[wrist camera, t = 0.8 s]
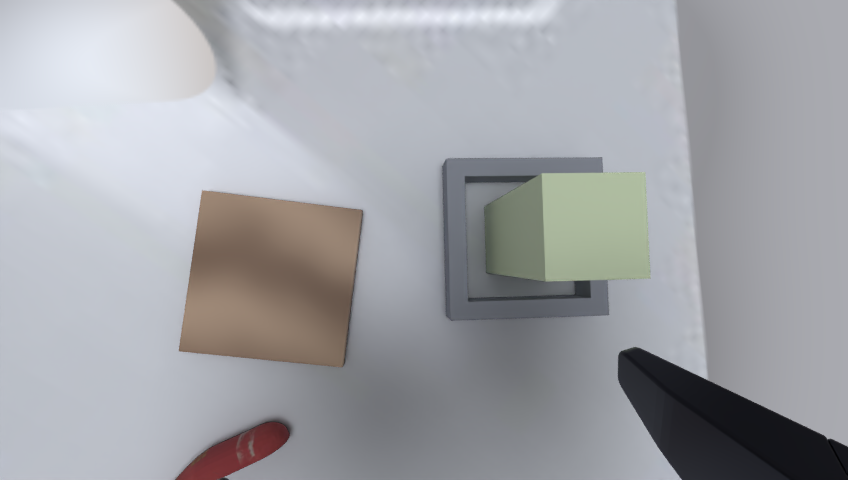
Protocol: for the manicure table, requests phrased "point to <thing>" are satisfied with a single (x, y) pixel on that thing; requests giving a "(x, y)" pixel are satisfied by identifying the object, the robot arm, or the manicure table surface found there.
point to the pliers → (237, 452)
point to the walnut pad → (271, 280)
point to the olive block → (570, 228)
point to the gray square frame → (458, 305)
